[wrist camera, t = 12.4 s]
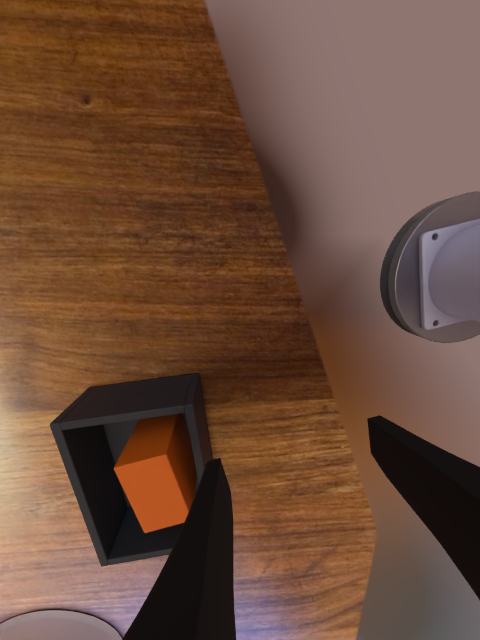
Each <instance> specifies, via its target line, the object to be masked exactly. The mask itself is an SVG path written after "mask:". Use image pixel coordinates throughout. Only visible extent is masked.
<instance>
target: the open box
mask: <svg viewBox="0 0 480 640" xmlns="http://www.w3.org/2000/svg"><path fill="white" fill-rule="evenodd" d="M180 413H182V416H183V419H184V422H185V425H186V428H187V430H188V433H189V436H190V440H191V445H192V451H193V456H194V462H195V467H196V472H197V479H196V488H195V494H196V492H197V489H198V486H199V483H200V480H201V477H202V474H203V471H204V468H205V464H206V463H207V461H211V460H213V457H212V451H211V444H210V438H209V432H208V426H207V419H206V413H205V407H204V401H203V395H202V388H201V382H200V376H199V373H195V374H188V375H180V376H173V377H165V378H158V379H150V380H142V381H135V382H127V383H120V384H112V385H104V386H97V387H89V388H88V389H87V390H86V391H85V392H84V393H83V394H82V395H81V396H79V397H78V398H77V399H76V400H75V401H74V402H73V403H72V404H71V405H70V406H69V407H68V408H67V409H65V410H64V411H63V412H62V413H61V414H60V415H59V416H58V417H57V418H56V419H55V420H54V421H53V422H52V423H50V427H51V430H52V432H53V435H54V438H55V441H56V443H57V446H58V449H59V452H60V454H61V457H62V460H63V463H64V465H65V468H66V471H67V474H68V476H69V479H70V482H71V485H72V487H73V490H74V493H75V496H76V498H77V501H78V504H79V507H80V509H81V512H82V515H83V518H84V520H85V523H86V526H87V529H88V531H89V534H90V537H91V540H92V542H93V545H94V548H95V551H96V553H97V556H98V559H99V562H100V564H101V566H107V565H113V564H118V563H124V562H130V561H135V560H141V559H147V558H152V557H158V556H163V555H169V554H170V553H171V551H172V549H173V547H174V544H175V542H176V540H177V538H178V536H179V533H180V531H181V529H182V526H183V524H184V523H181V524H177V525H173V526H170V527H166V528H162V529H159V530H155V531H151V532H148V533H144V531H143V529H142V527H141V525H140V523H139V521H138V519H137V517H136V514H135V512H134V510H133V508H132V506H131V504H130V502H129V500H128V498H127V496H126V494H125V491H124V489H123V487H122V485H121V483H120V481H119V479H118V477H117V475H116V473H115V471H114V467H115V465H116V463H117V461H118V459H119V457H120V455H121V453H122V451H123V449H124V448H125V446H126V444H127V442H128V440H129V438H130V436H131V434H132V432H133V430H134V428H135V427H136V425H137V423H138V421H139V419H145V418H152V417H159V416H166V415H173V414H180Z"/></svg>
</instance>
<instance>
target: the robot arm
mask: <svg viewBox="0 0 480 640" xmlns="http://www.w3.org/2000/svg"><path fill="white" fill-rule="evenodd" d="M432 235H433V239H432ZM418 242H419V277H420V312H421V327H422V328H423V329H426V330H431V329H435V328H439V327H443V326H447V325H451V324H455V323H458V322H462V321H466V320H472V321H477V322H480V219H477V220H472V221H468V222H464V223H460V224H456V225H452V226H448V227H444V228H440V229H436V230H432V231H428V232H424V233H422V234H421V235H420V237H419V240H418ZM433 322H434V323H433ZM368 427H369V438H370V448H371V454H372V455H373V457H374V458H375V460H376V462H377V463H378V465H379V466H380V468H381V469H382V471H383V472H384V474H385V475H386V477H387V478H388V479H389V480H390V482H391V483H392V484H393V485H394V487H395V488H396V489H397V490H398V492H399V493H400V494H401V495H402V497H403V498H404V499H405V500H406V502H407V503H408V504H409V505H410V506H411V508H412V509H413V510H414V511H415V513H416V514H417V515H418V516H419V518H421V520H422V521H423V522H424V524H425V525H426V526H427V527H428V529H429V530H430V531H431V532H432V534H433V535H434V536H435V537H436V539H437V540H438V541H439V543H440V544H441V545H442V546H443V548H444V549H445V551H446V552H447V554H448V555H449V556H450V558H451V559H452V561H453V562H454V563H455V565H456V566H457V568H458V569H459V571H460V572H461V573H462V575H463V576H464V578H465V579H466V581H467V582H468V583H469V585H470V586H471V588H472V589H473V591H474V592H475V594H476V595H477V596H478V598H479V600H480V467H478V466H476V465H474V464H472V463H470V462H468V461H465V460H463V459H461V458H459V457H457V456H455V455H453V454H451V453H449V452H447V451H445V450H443V449H441V448H439V447H437V446H435V445H433V444H431V443H429V442H427V441H426V440H424V439H422V438H420V437H418V436H416V435H414V434H413V433H411V432H409V431H407V430H405V429H404V428H402V427H400V426H398V425H396V424H395V423H393V422H391V421H389V420H387V419H385V418H383V417H382V416H376V417H372V418H368ZM122 640H236V630H235V615H234V593H233V511H232V500H231V491H230V488H229V484H228V481H227V478H226V475H225V472H224V469H223V466H222V463H221V459H220V458H218V459H214V460H211V461H207V463H206V464H205V468H204V471H203V474H202V477H201V480H200V483H199V486H198V489H197V492H196V494H195V497H194V499H193V502H192V505H191V507H190V510H189V512H188V515H187V517H186V520H185V522H184V524H183V526H182V529H181V531H180V533H179V536H178V538H177V540H176V542H175V544H174V547H173V549H172V551H171V553H170V555H169V557H168V559H167V561H166V563H165V565H164V567H163V569H162V571H161V573H160V575H159V577H158V579H157V580H156V582H155V584H154V586H153V588H152V590H151V591H150V593H149V595H148V597H147V599H146V601H145V602H144V604H143V606H142V608H141V609H140V611H139V613H138V614H137V616H136V618H135V620H134V621H133V623H132V624H131V626H130V628H129V629H128V631H127V633H126V634H125V636H124V637H123V639H122Z"/></svg>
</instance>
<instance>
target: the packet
mask: <svg viewBox="0 0 480 640" xmlns="http://www.w3.org/2000/svg"><path fill="white" fill-rule="evenodd" d="M114 471H115V473H116V475H117V477H118V479H119V481H120V483H121V485H122V487H123V489H124V491H125V494H126V496H127V498H128V500H129V502H130V504H131V506H132V508H133V510H134V512H135V514H136V517H137V519H138V521H139V523H140V525H141V527H142V529H143V531H144V533H148V532H151V531H155V530H159V529H162V528H166V527H170V526H173V525H177V524H181V523H184V522H185V520H186V517H187V515H188V512H189V510H190V507H191V505H192V502H193V499H194V497H195V488H196V479H197V472H196V467H195V462H194V456H193V451H192V445H191V440H190V436H189V433H188V430H187V428H186V425H185V422H184V419H183V416H182V413H180V414H173V415H166V416H159V417H152V418H145V419H139V421H138V423H137V425H136V427H135V428H134V430H133V432H132V434H131V436H130V438H129V440H128V442H127V444H126V446H125V448H124V449H123V451H122V453H121V455H120V457H119V459H118V461H117V463H116V465H115V467H114Z"/></svg>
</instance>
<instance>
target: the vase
mask: <svg viewBox="0 0 480 640" xmlns="http://www.w3.org/2000/svg"><path fill="white" fill-rule="evenodd" d="M0 640H122V638H121V636H120V635H119V634H118V632H117V631H116V630H115V629H114V628H112V627H111V626H110V625H109V624H107V623H105V622H104V621H102V620H100V619H98V618H95V617H93V616H90V615H87V614H82V613H78V612H72V611H63V610H47V611H38V612H32V613H27V614H23V615H20V616H17V617H14V618H11V619H9V620H7V621H5V622H3V623H2V624H0Z"/></svg>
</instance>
